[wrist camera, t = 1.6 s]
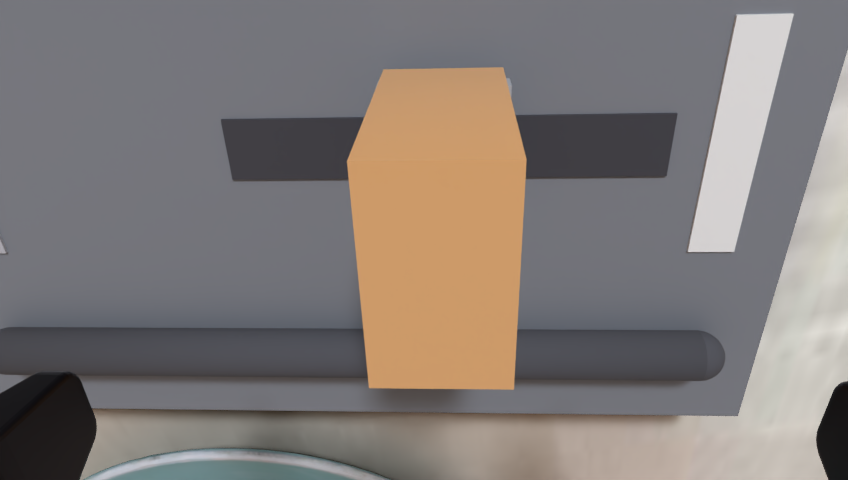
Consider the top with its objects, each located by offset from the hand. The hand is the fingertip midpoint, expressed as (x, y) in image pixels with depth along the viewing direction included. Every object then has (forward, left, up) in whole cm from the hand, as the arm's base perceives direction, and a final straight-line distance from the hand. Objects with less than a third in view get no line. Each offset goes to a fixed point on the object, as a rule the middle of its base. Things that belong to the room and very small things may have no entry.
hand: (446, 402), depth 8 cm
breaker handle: (0, 0, -9) cm, 9 cm away
